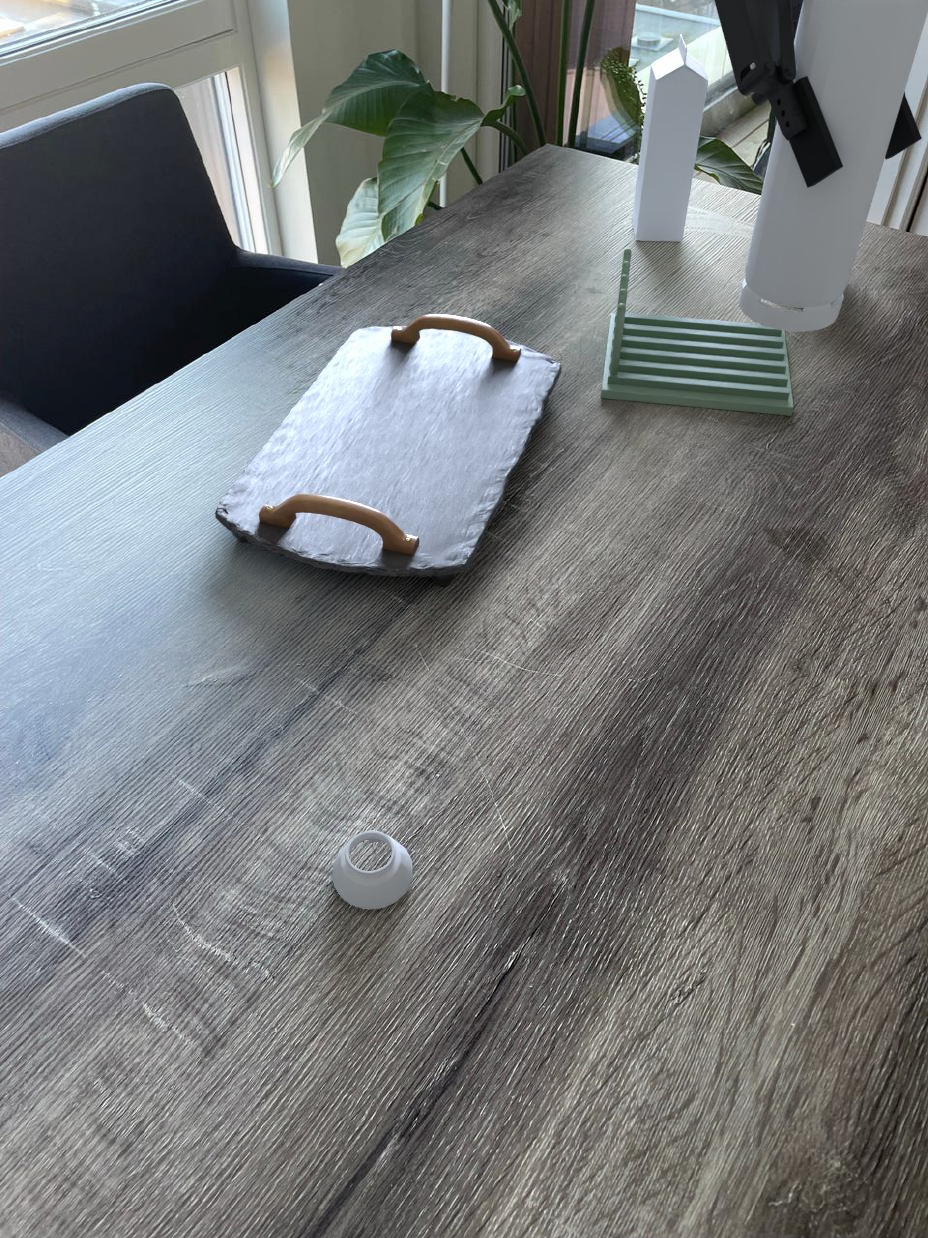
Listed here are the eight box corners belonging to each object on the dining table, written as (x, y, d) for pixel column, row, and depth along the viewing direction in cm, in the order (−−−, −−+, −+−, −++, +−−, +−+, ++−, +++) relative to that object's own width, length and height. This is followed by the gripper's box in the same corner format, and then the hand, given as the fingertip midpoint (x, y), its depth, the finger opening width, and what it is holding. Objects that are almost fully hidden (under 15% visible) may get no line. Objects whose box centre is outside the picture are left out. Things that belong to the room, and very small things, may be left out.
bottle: (768, 337, 79) (873, -89, 59) (721, 290, 85) (802, -115, 65) (858, 323, 81) (989, -97, 61) (805, 277, 86) (910, -121, 66)
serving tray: (367, 336, 110) (363, 283, 105) (572, 371, 105) (577, 317, 100) (196, 560, 84) (182, 502, 80) (458, 621, 79) (458, 563, 75)
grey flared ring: (411, 840, 65) (334, 844, 65) (409, 814, 63) (330, 819, 63) (414, 910, 62) (332, 915, 61) (412, 885, 59) (328, 890, 59)
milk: (676, 222, 131) (707, 33, 115) (682, 242, 127) (715, 49, 111) (630, 220, 131) (654, 32, 115) (634, 241, 127) (660, 48, 111)
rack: (782, 335, 110) (803, 253, 104) (791, 416, 99) (815, 330, 93) (610, 320, 113) (619, 239, 106) (600, 398, 101) (610, 313, 95)
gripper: (804, -124, 77) (912, 156, 79) (601, -91, 68) (729, 223, 71) (881, -205, 70) (997, 104, 73) (667, -180, 62) (806, 170, 64)
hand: (865, 162), depth 72 cm, fingers closed on bottle, 8 cm apart
